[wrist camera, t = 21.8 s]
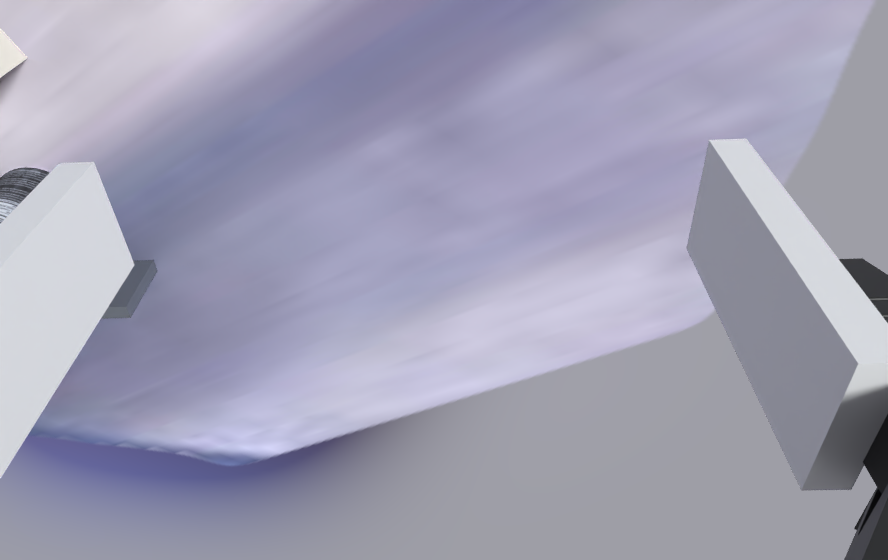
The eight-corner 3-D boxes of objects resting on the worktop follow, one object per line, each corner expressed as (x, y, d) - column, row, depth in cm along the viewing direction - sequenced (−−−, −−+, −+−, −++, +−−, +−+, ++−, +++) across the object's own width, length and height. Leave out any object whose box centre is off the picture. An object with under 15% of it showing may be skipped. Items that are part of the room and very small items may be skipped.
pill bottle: (56, 250, 51) (-28, 354, 42) (-18, 195, 49) (-125, 294, 39) (104, 208, 49) (25, 308, 40) (29, 148, 46) (-73, 242, 37)
